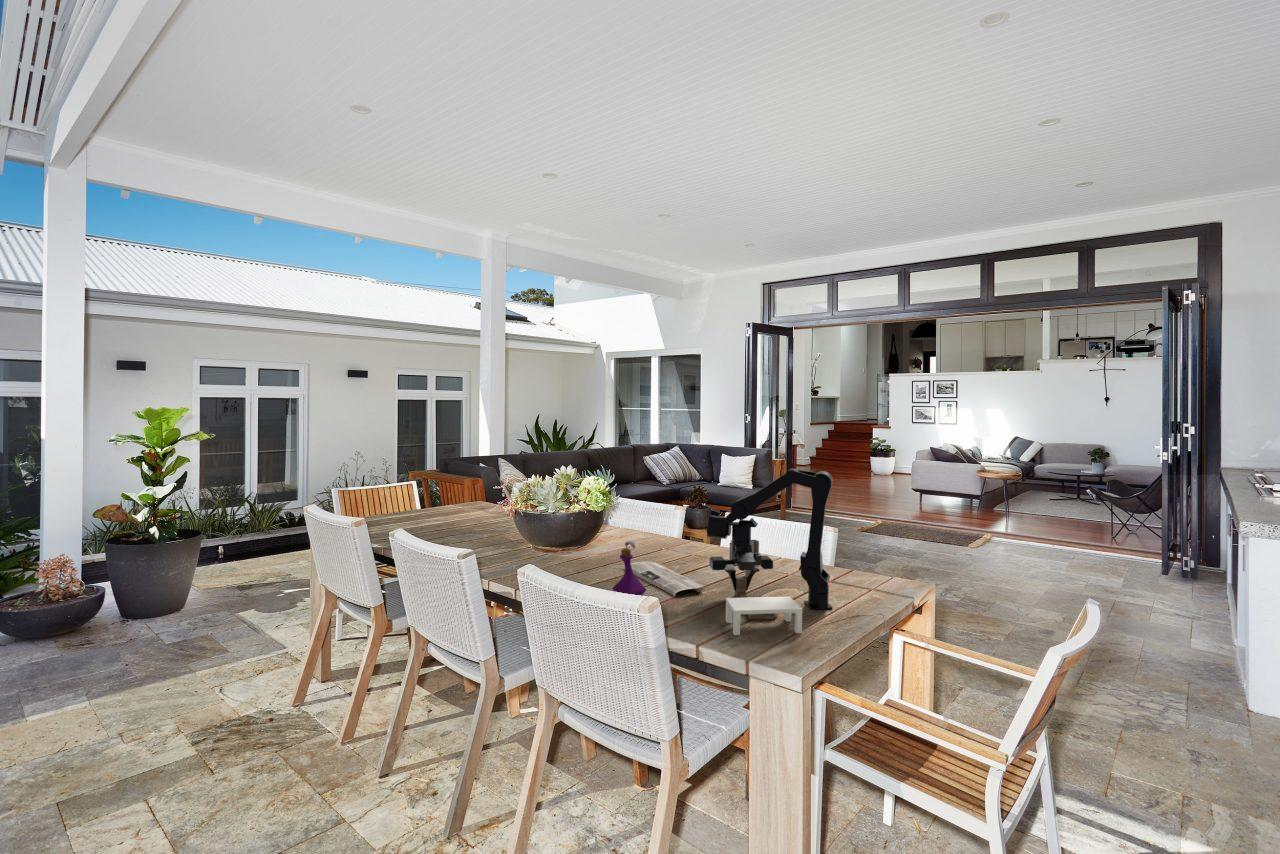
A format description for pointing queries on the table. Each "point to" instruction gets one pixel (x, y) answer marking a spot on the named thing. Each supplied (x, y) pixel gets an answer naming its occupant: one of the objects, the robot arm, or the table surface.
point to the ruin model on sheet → (753, 544)
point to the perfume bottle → (629, 575)
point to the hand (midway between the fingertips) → (740, 590)
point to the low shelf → (762, 609)
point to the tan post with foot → (741, 593)
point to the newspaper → (665, 577)
